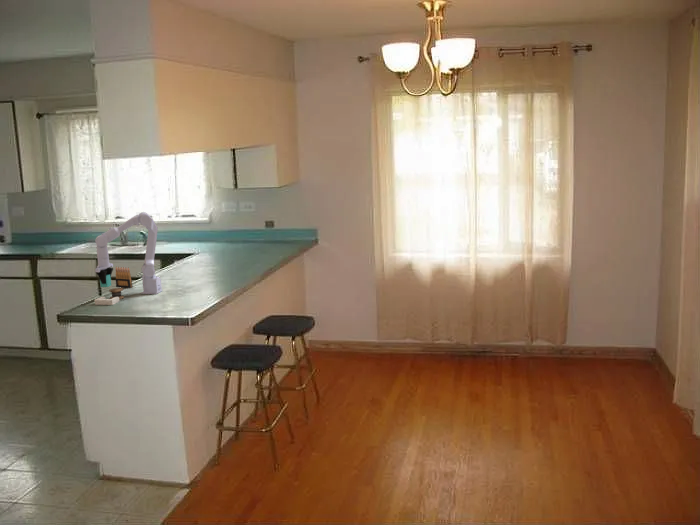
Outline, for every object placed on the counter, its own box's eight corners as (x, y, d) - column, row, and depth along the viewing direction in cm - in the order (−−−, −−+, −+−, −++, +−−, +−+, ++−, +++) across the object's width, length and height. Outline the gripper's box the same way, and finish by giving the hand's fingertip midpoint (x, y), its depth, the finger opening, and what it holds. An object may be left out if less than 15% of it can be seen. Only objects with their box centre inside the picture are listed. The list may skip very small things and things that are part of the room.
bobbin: (126, 296, 375) (125, 288, 374) (119, 299, 368) (118, 291, 367) (114, 296, 376) (113, 287, 375) (107, 299, 370) (106, 291, 369)
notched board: (119, 301, 365) (118, 296, 365) (112, 304, 358) (112, 300, 358) (102, 301, 367) (101, 296, 367) (95, 304, 360) (94, 300, 360)
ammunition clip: (116, 287, 399) (113, 266, 397) (118, 286, 401) (116, 266, 399) (130, 288, 395) (128, 267, 393) (132, 287, 397) (130, 267, 394)
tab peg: (111, 285, 375) (110, 274, 374) (107, 287, 371) (106, 276, 370) (104, 285, 376) (103, 274, 374) (100, 287, 372) (99, 276, 371)
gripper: (103, 255, 378) (106, 279, 381) (88, 260, 364) (91, 285, 367) (115, 255, 376) (118, 279, 379) (101, 260, 363) (104, 285, 365)
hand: (106, 282), depth 373 cm, fingers closed on tab peg, 4 cm apart
